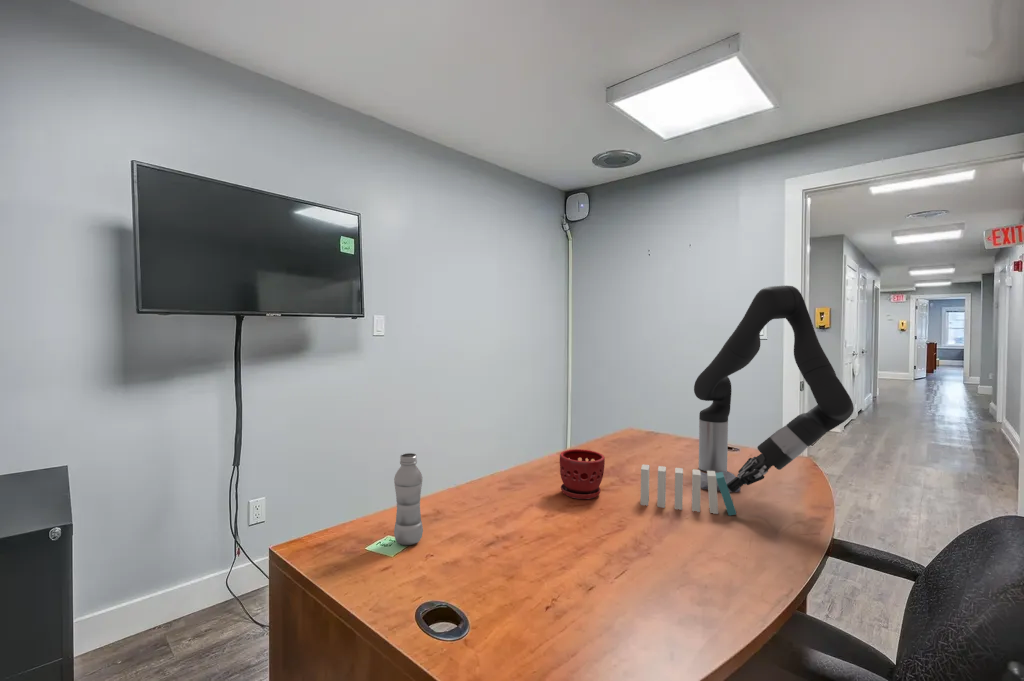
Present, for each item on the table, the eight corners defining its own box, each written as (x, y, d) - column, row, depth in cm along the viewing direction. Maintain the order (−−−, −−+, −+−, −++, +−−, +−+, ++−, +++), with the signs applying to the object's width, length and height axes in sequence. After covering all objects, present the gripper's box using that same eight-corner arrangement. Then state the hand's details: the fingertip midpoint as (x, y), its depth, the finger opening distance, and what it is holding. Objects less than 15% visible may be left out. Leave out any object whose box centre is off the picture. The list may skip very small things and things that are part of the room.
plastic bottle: (398, 551, 106) (398, 460, 106) (390, 539, 112) (390, 453, 112) (426, 545, 109) (426, 457, 109) (418, 533, 115) (418, 450, 115)
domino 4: (692, 511, 131) (692, 474, 130) (691, 504, 135) (692, 469, 135) (700, 512, 130) (700, 475, 130) (699, 505, 135) (700, 469, 134)
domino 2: (657, 506, 134) (657, 470, 133) (658, 500, 138) (658, 466, 138) (664, 507, 133) (665, 471, 133) (665, 501, 138) (666, 466, 137)
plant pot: (553, 498, 139) (554, 457, 139) (566, 485, 152) (566, 447, 151) (598, 505, 134) (599, 462, 134) (608, 490, 147) (608, 451, 146)
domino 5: (710, 513, 129) (707, 475, 129) (709, 506, 134) (707, 470, 134) (718, 513, 128) (716, 476, 128) (717, 507, 133) (714, 470, 133)
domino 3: (674, 509, 132) (675, 472, 132) (674, 502, 137) (675, 467, 137) (682, 510, 131) (682, 473, 131) (682, 503, 136) (682, 468, 136)
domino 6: (728, 515, 128) (716, 478, 128) (727, 509, 132) (714, 473, 133) (736, 514, 127) (724, 476, 128) (734, 507, 132) (722, 471, 132)
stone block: (743, 498, 146) (731, 481, 156) (744, 484, 145) (732, 468, 154) (702, 499, 147) (693, 482, 156) (703, 484, 146) (693, 468, 155)
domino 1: (640, 504, 135) (640, 469, 135) (641, 498, 140) (642, 464, 139) (647, 505, 134) (648, 469, 134) (649, 499, 139) (649, 465, 139)
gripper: (766, 431, 132) (717, 471, 137) (775, 442, 120) (720, 485, 124) (788, 452, 131) (737, 491, 135) (799, 465, 118) (743, 508, 123)
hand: (729, 488), depth 130 cm, fingers closed
